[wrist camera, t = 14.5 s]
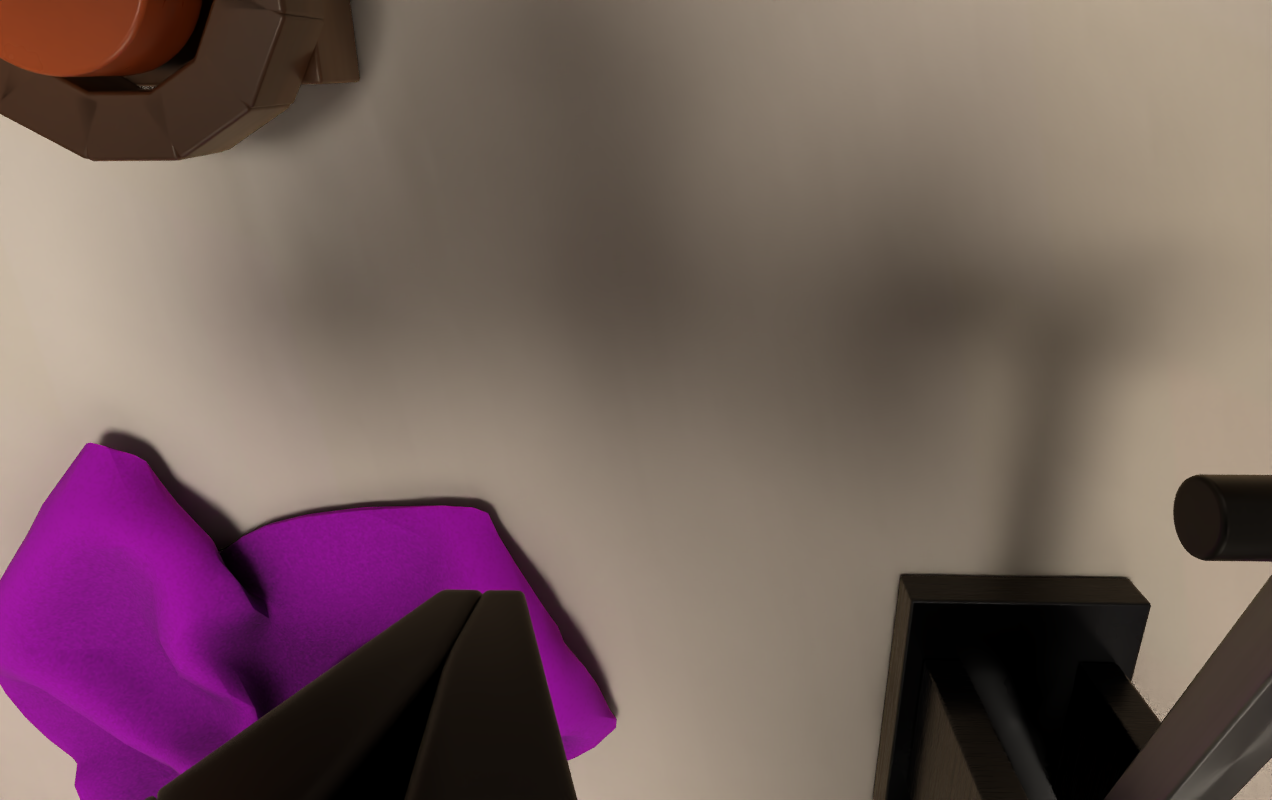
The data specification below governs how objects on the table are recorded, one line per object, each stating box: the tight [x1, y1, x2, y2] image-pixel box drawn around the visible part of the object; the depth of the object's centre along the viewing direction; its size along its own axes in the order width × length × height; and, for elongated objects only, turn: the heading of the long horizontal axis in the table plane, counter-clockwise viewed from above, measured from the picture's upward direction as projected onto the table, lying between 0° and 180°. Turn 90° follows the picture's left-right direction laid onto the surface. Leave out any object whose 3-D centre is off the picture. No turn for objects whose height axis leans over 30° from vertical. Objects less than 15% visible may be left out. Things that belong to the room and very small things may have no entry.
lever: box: [1104, 475, 1272, 800], centre depth 15 cm, size 14×5×2 cm, turn 1°
